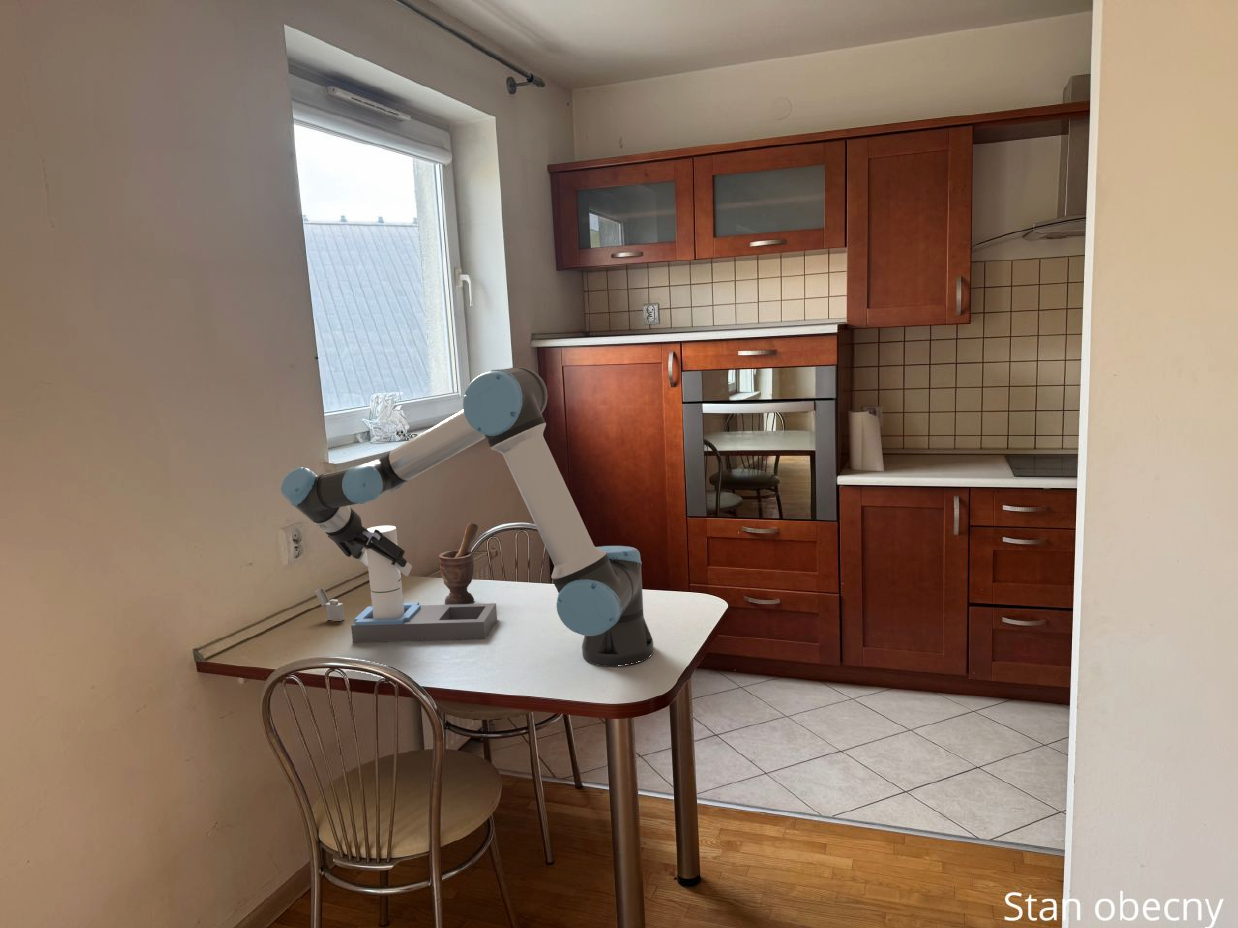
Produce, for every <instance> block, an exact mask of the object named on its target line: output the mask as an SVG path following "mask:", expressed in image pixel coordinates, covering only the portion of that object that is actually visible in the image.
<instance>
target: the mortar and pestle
mask: <svg viewBox="0 0 1238 928" xmlns="http://www.w3.org/2000/svg"><path fill="white" fill-rule="evenodd" d="M478 529H479V526H478V525H477V524H476V523H473V522H469V523H468V524H467V525H466V528H465V531H464V536H463V537H462V538H463V539H462V543H461V546H460V548H459V549H455V550H448V551H444V552H441V553H440V554H439V555H438V560H439V570H440V571H439V572H440V576H441V578H442V580H443V584H444V586H446V588H448V590H449V593H448V595H446V596H445V598H444V605H452V604H473V602H474V601H475V598H474V596H473V594H472V593H470V592H469V591H468V587H469V586H470V585H471V583H472V581H473V577H474V568H475V567H474V565H475V564H474V552H472V551H471V550H469V549H470V547H471V544H472V543H473V540H474V539H475V538H476V535H477V533H478Z"/></svg>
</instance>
